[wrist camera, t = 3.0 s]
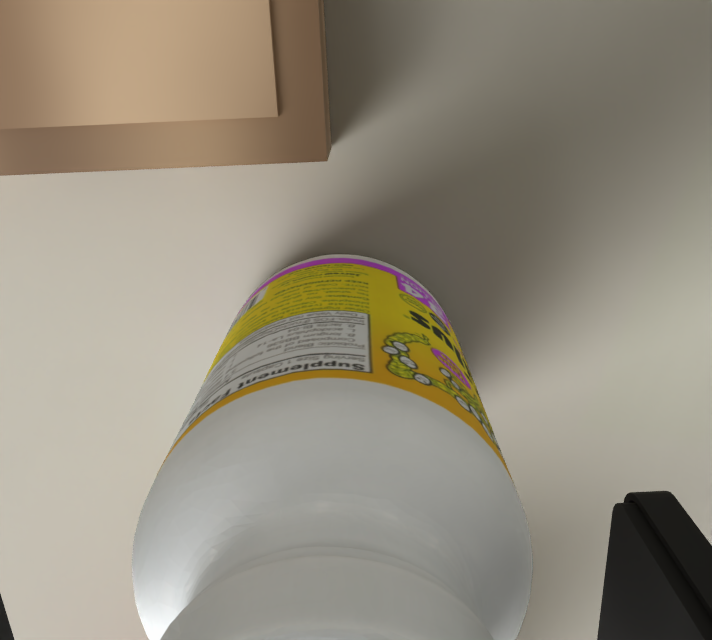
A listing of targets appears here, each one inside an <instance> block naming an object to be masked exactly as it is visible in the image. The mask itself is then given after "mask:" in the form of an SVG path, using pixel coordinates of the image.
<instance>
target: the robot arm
mask: <svg viewBox="0 0 712 640" xmlns="http://www.w3.org/2000/svg"><path fill="white" fill-rule="evenodd" d="M0 640H14V637H13V634H12V631H11V627H10V624H9V621H8V617H7V614H6V611H5V608H4V604H3V601H2V598H1V594H0ZM597 640H712V546H711V544H710V543H709V542H708V540H707V539H706V538H705V536H704V535H703V534H702V532H701V531H700V530H699V528H698V527H697V526H696V524H695V523H694V522H693V520H692V519H691V518H690V516H689V515H688V514H687V512H686V511H685V510H684V508H683V507H682V506H681V504H680V503H679V502H678V500H677V499H676V498H675V496H674V495H673V494H672V493H671V492H668V491H653V492H632V493H628V494H627V495H626V497H625V499H624V503H617V504H615V506H614V507H613V512H612V520H611V529H610V537H609V546H608V554H607V562H606V571H605V579H604V587H603V596H602V604H601V613H600V621H599V629H598V639H597Z"/></svg>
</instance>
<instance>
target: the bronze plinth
mask: <svg viewBox="0 0 712 640" xmlns="http://www.w3.org/2000/svg"><path fill="white" fill-rule="evenodd" d="M330 150H331V130H330V112H329V93H328V75H327V56H326V37H325V19H324V0H0V176H1V175H24V174H47V173H70V172H92V171H115V170H138V169H161V168H184V167H206V166H229V165H252V164H275V163H297V162H320V161H327V160H328V157H329V154H330Z"/></svg>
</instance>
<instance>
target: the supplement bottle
mask: <svg viewBox="0 0 712 640" xmlns="http://www.w3.org/2000/svg"><path fill="white" fill-rule="evenodd" d="M532 572H533V554H532V546H531V537H530V532H529V528H528V524H527V520H526V516H525V513H524V510H523V507H522V504H521V501H520V499H519V496H518V493H517V491H516V488H515V485H514V482H513V480H512V478H511V475H510V473H509V471H508V468H507V466H506V463H505V461H504V458H503V456H502V453H501V450H500V448H499V445H498V443H497V440H496V438H495V435H494V433H493V430H492V427H491V425H490V422H489V420H488V417H487V415H486V412H485V410H484V407H483V405H482V402H481V399H480V397H479V394H478V391H477V388H476V385H475V383H474V381H473V378H472V376H471V373H470V371H469V368H468V365H467V362H466V360H465V358H464V355H463V353H462V350H461V348H460V345H459V343H458V340H457V338H456V335H455V333H454V331H453V328H452V326H451V324H450V322H449V320H448V318H447V316H446V315H445V313H444V311H443V309H442V308H441V306H440V305H439V303H438V302H437V301H436V299H435V298H434V297H433V295H432V294H431V293H430V292H429V291H428V290H427V289H426V288H425V287H424V286H423V285H422V284H420V283H419V282H418V281H417V280H416V279H414V278H413V277H412V276H410V275H409V274H407V273H406V272H404V271H402V270H400V269H398V268H397V267H395V266H393V265H390V264H388V263H385V262H383V261H380V260H377V259H374V258H370V257H364V256H358V255H350V254H332V255H323V256H318V257H314V258H310V259H307V260H304V261H301V262H298V263H295V264H293V265H291V266H288V267H286V268H284V269H282V270H281V271H279V272H277V273H276V274H274V275H273V276H271V277H270V278H269V279H267V280H266V281H265V282H264V283H263V284H261V285H260V286H259V287H258V288H257V289H256V290H255V291H254V292H253V294H252V295H251V296H250V297H249V298H248V300H247V301H246V302H245V304H244V305H243V307H242V308H241V310H240V311H239V313H238V314H237V316H236V318H235V320H234V322H233V323H232V325H231V327H230V329H229V331H228V333H227V335H226V338H225V339H224V341H223V344H222V346H221V347H220V349H219V351H218V353H217V355H216V357H215V359H214V361H213V363H212V365H211V367H210V370H209V372H208V374H207V376H206V378H205V380H204V382H203V384H202V386H201V389H200V391H199V393H198V394H197V397H196V399H195V401H194V403H193V405H192V407H191V409H190V411H189V413H188V415H187V417H186V419H185V421H184V423H183V425H182V427H181V429H180V431H179V433H178V435H177V437H176V439H175V441H174V443H173V445H172V447H171V449H170V451H169V453H168V455H167V457H166V459H165V460H164V462H163V464H162V466H161V468H160V470H159V472H158V474H157V476H156V478H155V481H154V483H153V485H152V487H151V489H150V491H149V494H148V496H147V498H146V500H145V503H144V505H143V508H142V511H141V513H140V517H139V521H138V524H137V528H136V532H135V536H134V543H133V554H132V577H133V587H134V594H135V601H136V605H137V609H138V612H139V616H140V619H141V622H142V624H143V627H144V629H145V632H146V634H147V636H148V638H149V640H516V638H517V636H518V634H519V631H520V628H521V625H522V623H523V620H524V617H525V614H526V611H527V607H528V602H529V598H530V592H531V583H532Z"/></svg>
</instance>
